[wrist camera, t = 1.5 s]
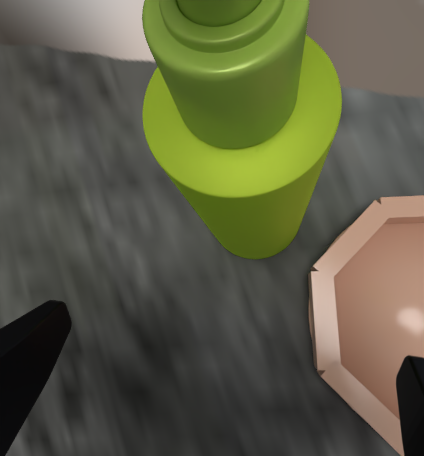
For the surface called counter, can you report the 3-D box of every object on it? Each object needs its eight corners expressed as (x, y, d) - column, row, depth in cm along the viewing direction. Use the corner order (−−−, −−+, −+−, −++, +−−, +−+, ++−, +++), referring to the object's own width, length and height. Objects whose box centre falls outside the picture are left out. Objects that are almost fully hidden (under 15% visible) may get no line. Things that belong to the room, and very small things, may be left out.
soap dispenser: (325, 184, 23) (658, -527, 3) (271, 276, 22) (292, 53, 3) (247, 145, 24) (160, -508, 5) (193, 230, 23) (-165, -133, 4)
